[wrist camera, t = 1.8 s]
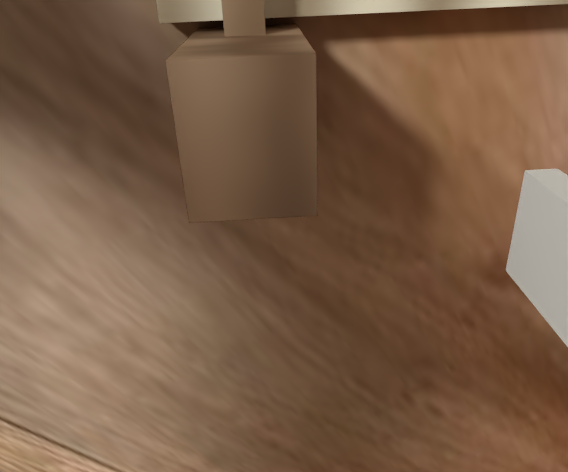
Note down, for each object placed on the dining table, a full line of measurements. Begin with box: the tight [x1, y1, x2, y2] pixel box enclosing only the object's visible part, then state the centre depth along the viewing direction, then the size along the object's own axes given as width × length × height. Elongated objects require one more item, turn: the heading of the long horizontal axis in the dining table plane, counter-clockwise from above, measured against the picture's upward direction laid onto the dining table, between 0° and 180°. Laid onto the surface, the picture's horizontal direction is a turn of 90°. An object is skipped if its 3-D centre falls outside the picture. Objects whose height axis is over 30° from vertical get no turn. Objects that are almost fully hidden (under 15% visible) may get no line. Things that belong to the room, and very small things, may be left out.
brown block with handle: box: [166, 0, 318, 223], centre depth 21 cm, size 5×13×10 cm, turn 2°
